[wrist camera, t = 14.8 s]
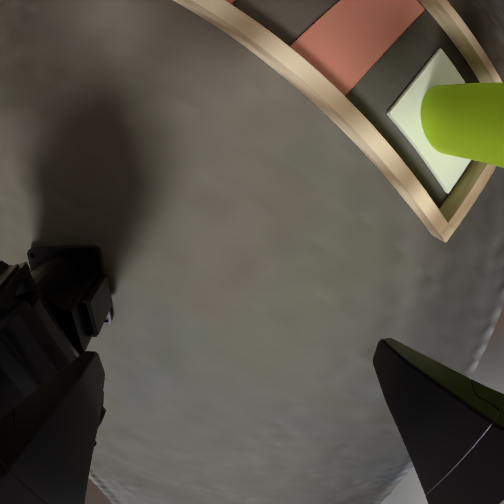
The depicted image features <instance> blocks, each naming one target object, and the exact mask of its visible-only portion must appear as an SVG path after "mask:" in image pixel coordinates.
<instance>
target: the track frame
mask: <svg viewBox="0 0 504 504" xmlns="http://www.w3.org/2000/svg"><path fill="white" fill-rule="evenodd" d="M173 1H175V2H177V3H178V4H180V5H182V6H184V7H185V8H187V9H189V10H190V11H192V12H194V13H195V14H197V15H199V16H200V17H202V18H203V19H205V20H206V21H208V22H210V23H211V24H213V25H214V26H216V27H217V28H219V29H220V30H222V31H223V32H225V33H226V34H228V35H229V36H230V37H232V38H233V39H235V40H236V41H238V42H239V43H240V44H242V45H243V46H244V47H246V48H247V49H249V50H250V51H251V52H253V53H254V54H255V55H257V56H258V57H259V58H260V59H262V60H263V61H264V62H266V63H267V64H268V65H269V66H271V67H272V68H273V69H274V70H276V71H277V72H278V73H279V74H281V75H282V76H283V77H284V78H285V79H287V80H288V81H289V82H290V83H291V84H293V85H294V86H295V87H296V88H297V89H298V90H300V91H301V92H302V93H303V94H304V95H305V96H306V97H307V98H309V99H310V100H311V101H312V102H313V103H314V104H315V105H316V106H317V107H318V108H320V109H321V110H322V111H323V112H324V113H325V114H326V115H327V116H328V117H329V118H330V119H331V120H332V121H333V122H334V123H335V124H336V125H337V126H338V127H339V128H340V129H341V130H342V131H343V132H344V133H345V134H346V135H347V136H348V137H349V138H350V139H351V140H352V141H353V142H354V143H355V144H356V145H357V146H358V147H359V148H360V149H361V150H362V151H363V152H364V153H365V154H366V156H367V157H368V158H369V159H370V160H371V161H372V162H373V163H374V164H375V165H376V167H377V168H378V169H379V170H380V171H381V172H382V173H383V174H384V176H385V177H386V178H387V179H388V180H389V181H390V183H391V184H392V185H393V186H394V187H395V189H396V190H397V191H398V192H399V193H400V195H401V196H402V197H403V198H404V200H405V201H406V202H407V203H408V204H409V206H410V207H411V208H412V210H413V211H414V212H415V213H416V215H417V216H418V217H419V219H420V220H421V221H422V223H423V224H424V225H425V227H426V228H427V229H428V231H429V232H430V233H431V235H432V236H434V237H436V238H438V239H440V240H441V241H443V242H445V243H446V242H447V241H448V239H449V238H450V236H451V235H452V234H453V232H454V231H455V230H456V228H457V227H458V225H459V224H460V222H461V221H462V220H463V218H464V217H465V215H466V214H467V212H468V211H469V209H470V208H471V206H472V205H473V203H474V202H475V200H476V199H477V197H478V196H479V194H480V192H481V191H482V189H483V188H484V186H485V184H486V183H487V181H488V180H489V178H490V176H491V175H492V173H493V171H494V169H495V168H496V166H495V165H491V164H487V163H483V162H479V161H474V160H472V162H471V163H470V165H469V166H468V168H467V169H466V171H465V172H464V174H463V175H462V177H461V178H460V180H459V181H458V183H457V184H456V186H455V187H454V189H453V190H452V192H451V193H450V194H449V196H448V197H447V199H446V200H445V201H444V203H443V204H442V206H441V207H440V208H439V209H438V208H437V206H436V205H435V203H434V202H433V200H432V199H431V198H430V196H429V195H428V193H427V192H426V191H425V189H424V188H423V186H422V185H421V184H420V182H419V181H418V180H417V178H416V177H415V176H414V174H413V173H412V172H411V171H410V169H409V168H408V167H407V165H406V164H405V163H404V162H403V160H402V159H401V158H400V157H399V155H398V154H397V153H396V152H395V151H394V149H393V148H392V147H391V146H390V145H389V143H388V142H387V141H386V140H385V139H384V138H383V136H382V135H381V134H380V133H379V132H378V131H377V130H376V129H375V127H374V126H373V125H372V124H371V123H370V122H369V121H368V120H367V119H366V118H365V117H364V116H363V114H362V113H361V112H360V111H359V110H358V109H357V108H356V107H355V106H354V105H353V104H352V103H351V102H350V101H349V100H348V99H347V98H346V97H345V96H344V95H343V94H342V93H341V92H340V91H339V90H338V89H337V88H336V87H335V86H334V85H333V84H332V83H330V82H329V81H328V80H327V79H326V78H325V77H324V76H323V75H322V74H321V73H320V72H319V71H317V70H316V69H315V68H314V67H313V66H312V65H311V64H309V63H308V62H307V61H306V60H305V59H304V58H303V57H301V56H300V55H299V54H298V53H297V52H295V51H294V50H293V49H292V48H290V47H289V46H288V45H287V44H285V43H284V42H283V41H282V40H280V39H279V38H278V37H277V36H275V35H274V34H273V33H271V32H270V31H269V30H267V29H266V28H265V27H263V26H262V25H260V24H259V23H258V22H256V21H255V20H253V19H252V18H251V17H249V16H248V15H246V14H245V13H243V12H242V11H240V10H239V9H237V8H236V7H234V6H233V5H231V4H230V3H228V2H227V1H225V0H173ZM418 1H419V2H420V3H421V4H422V5H423V6H424V7H425V8H426V10H427V11H428V12H429V13H430V14H431V15H432V16H433V18H434V19H435V20H436V21H437V22H438V24H439V25H440V26H441V27H442V29H443V30H444V31H445V32H446V34H447V35H448V36H449V38H450V39H451V40H452V42H453V43H454V44H455V46H456V47H457V48H458V50H459V51H460V53H461V54H462V56H463V57H464V58H465V60H466V61H467V63H468V64H469V66H470V67H471V69H472V71H473V72H474V74H475V75H476V77H477V78H478V80H479V82H480V83H490V82H502V81H501V79H500V77H499V75H498V74H497V72H496V70H495V68H494V67H493V65H492V63H491V62H490V60H489V58H488V57H487V55H486V54H485V52H484V50H483V49H482V47H481V46H480V44H479V43H478V41H477V40H476V38H475V37H474V35H473V34H472V33H471V31H470V30H469V28H468V27H467V26H466V24H465V23H464V22H463V20H462V19H461V18H460V16H459V15H458V14H457V12H456V11H455V10H454V9H453V7H452V6H451V5H450V4H449V3H448V1H447V0H418Z"/></svg>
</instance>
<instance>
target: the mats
mask: <svg viewBox="0 0 504 504" xmlns="http://www.w3.org/2000/svg"><path fill="white" fill-rule="evenodd" d="M225 1H227V2H228V3H230V4H233V3H234V2H235V1H236V0H225ZM424 10H425V9H424V8H423V7H422V6H421V5H420V3H419V2H418V1H417V0H340V1H339V2H338V3H337V4H335V5H334V6H333V7H332V8H331V9H330V10H328V11H327V12H326V13H325V14H324V15H323V16H322V17H321V18H320V19H318V20H317V21H316V22H315V23H314V24H313V25H312V26H311V27H310V28H309V29H308V30H307V31H306V32H304V33H303V34H302V35H301V36H300V37H299V38H298V39H297V40H296V41H295V42H294V43H293V44H292V45H291V46H290V48H292V49H293V50H294V51H295V52H297V53H298V54H299V55H300V56H301V57H303V58H304V59H305V60H306V61H307V62H308V63H309V64H311V65H312V66H313V67H314V68H315V69H316V70H317V71H319V72H320V73H321V74H322V75H323V76H324V77H325V78H326V79H327V80H328V81H329V82H330V83H332V84H333V85H334V86H335V87H336V88H337V89H338V90H339V91H340V92H341V93H342V94H343V95H344V96H346V94H347V93H348V92H349V91H350V90H351V89H352V88H353V87H354V85H355V84H356V83H357V82H358V81H359V80H360V79H361V78H362V77H363V75H364V74H365V73H366V72H367V71H368V70H369V69H370V68H371V67H372V66H373V64H374V63H375V62H376V61H377V60H378V59H379V58H380V57H381V56H382V55H383V53H384V52H385V51H386V50H387V49H388V48H389V47H390V46H391V45H392V44H393V43H394V42H395V40H396V39H397V38H398V37H399V36H400V35H401V34H402V33H403V32H404V31H405V30H406V29H407V28H408V27H409V26H410V24H411V23H412V22H413V21H414V20H415V19H416V18H417V17H418V16H419V15H420V14H421V13H422V12H423V11H424Z"/></svg>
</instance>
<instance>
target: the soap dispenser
mask: <svg viewBox="0 0 504 504" xmlns="http://www.w3.org/2000/svg"><path fill="white" fill-rule="evenodd" d="M421 124H422V128H423V131H424V134H425V136H426V138H427V140H428V142H429V143H430V144H431V146H432V147H433V148H434V149H435V150H437V151H438V152H440V153H442V154H446V155H451V156H456V157H461V158H465V159H470V160H474V161H479V162H483V163H487V164H491V165H495V166H499V167H503V168H504V82H490V83H465V84H450V85H438V86H434V87H432V88H431V89H429V90H428V91H427V93H426V94H425V96H424V98H423V101H422V104H421Z"/></svg>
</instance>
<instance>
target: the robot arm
mask: <svg viewBox="0 0 504 504" xmlns="http://www.w3.org/2000/svg"><path fill="white" fill-rule="evenodd" d="M91 251H94V252H95V254H96V255H93V254H92V253H91ZM32 252H33V253H34V255H35V256H33V254H32ZM27 255H28V260H29V264H30V268H29V266H28V264H27V262H24V263H22V264H20V265H18V264H16V265H14V266H12V265H8V264H6V263H5V262H3V261H0V504H85V496H86V489H87V483H88V477H89V471H90V465H91V459H92V454H93V449H94V446H95V445H96V441H95V439H96V434H97V429H98V427H99V426H100V424H101V423H102V420H103V418H104V415H105V412H106V410H105V408H104V407H103V399H104V391H103V387H104V380H105V373H104V369H103V366H102V363H101V360H100V357H99V355H98V353H97V352H91V351H86V348H87V346H88V344H89V342H90V340H91V338H92V337H97V335H98V334H99V332H100V330H101V328H102V326H103V325H109V324H111V322H112V319H113V317H112V313H111V307H112V299H111V294H110V289H109V283H108V278H107V275H106V274H105V273H104V271H103V265H102V259H101V252H100V249H99V248H98V247H97V246H94V245H90V246H55V247H32V248H31V249H29V250H28V252H27ZM30 269H31V271H30ZM106 318H108V320H106ZM373 365H374V368H375V371H376V374H377V377H378V380H379V383H380V386H381V389H382V392H383V395H384V398H385V400H386V403H387V405H388V407H389V409H390V412H391V414H392V416H393V418H394V421H395V423H396V425H397V427H398V430H399V432H400V434H401V437H402V439H403V441H404V444H405V446H406V448H407V451H408V453H409V456H410V458H411V460H412V463H413V465H414V468H415V470H416V473H417V475H418V478H419V480H420V483H421V485H422V488H423V490H424V493H425V495H426V499H427V501H428V504H504V394H502V393H500V392H497V391H495V390H493V389H490V388H488V387H486V386H484V385H482V384H480V383H478V382H476V381H474V380H472V379H471V380H470V378H468V377H466V376H464V375H462V374H460V373H458V372H456V371H454V370H452V369H450V368H448V367H446V366H444V365H443V364H441V363H439V362H437V361H435V360H433V359H431V358H429V357H427V356H425V355H423V354H421V353H419V352H417V351H415V350H413V349H411V348H409V347H408V346H406V345H404V344H402V343H400V342H398V341H396V340H394V339H392V338H386V339H381V340H380V341H379V342H378V345H377V348H376V351H375V354H374V357H373Z"/></svg>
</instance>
